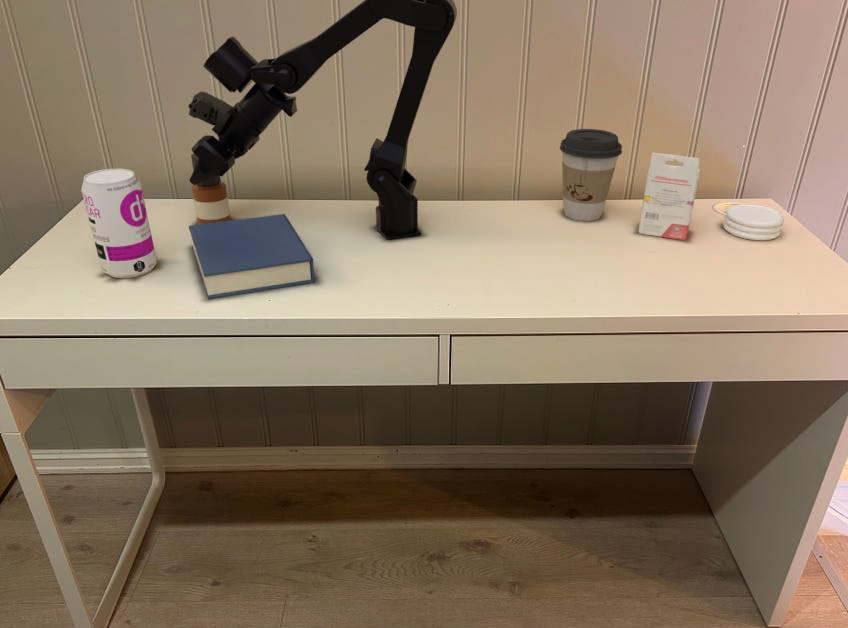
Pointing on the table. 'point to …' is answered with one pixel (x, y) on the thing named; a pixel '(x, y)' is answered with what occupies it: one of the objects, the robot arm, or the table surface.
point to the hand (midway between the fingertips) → (199, 176)
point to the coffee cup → (588, 171)
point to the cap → (208, 182)
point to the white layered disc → (753, 222)
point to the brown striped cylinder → (211, 203)
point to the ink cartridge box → (669, 196)
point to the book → (250, 255)
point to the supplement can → (119, 222)
